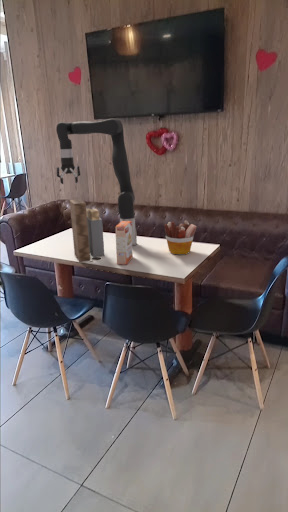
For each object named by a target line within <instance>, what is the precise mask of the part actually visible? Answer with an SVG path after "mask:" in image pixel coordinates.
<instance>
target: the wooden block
mask: <svg viewBox="0 0 288 512" xmlns="http://www.w3.org/2000/svg"><path fill="white" fill-rule="evenodd" d="M69 205H70V206H69V207H70V209H69V210H70V218H71V230H72V239H73V250H74V251H73V252H74V256H75V258H76V259H77V261H78V262H79V263H81V262H82V263H83V262H88V261H91V254H90V251H89V238H88V226H87V213H86V209H87V203H86V202H85V201H83V199H81V198H79V199H70V200H69Z"/></svg>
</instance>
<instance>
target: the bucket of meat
mask: <svg viewBox="0 0 288 512" xmlns="http://www.w3.org/2000/svg"><path fill="white" fill-rule="evenodd" d="M183 222H184V223H179V225H176V224H175V223H176V222H175V221H168V223H167V224H166V223H165V224H164V225H163V226H164V231H165V234H166V235H165V239H166V243H167V248H168V251H169V252H170V254H172V253H173V254H172V255H175V254H185V255H187V254H186V253H188V252H189V253H191V248H192V245H193V240H194V236H195V233H196V230H197V225H195V224H193V223H191V224H190V223H189V221H188V220H184V221H183ZM189 253H188V254H189Z"/></svg>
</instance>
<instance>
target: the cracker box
mask: <svg viewBox="0 0 288 512" xmlns="http://www.w3.org/2000/svg"><path fill="white" fill-rule="evenodd" d="M115 249H116V250H115V251H116V264H117V265H126V266H127V265H128V263H129V262H130V261H131V259H132V258H133V254H134V253H133V246H132V221H122V222H120V221H119V223H118V224H116V226H115Z"/></svg>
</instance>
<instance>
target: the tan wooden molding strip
mask: <svg viewBox="0 0 288 512" xmlns="http://www.w3.org/2000/svg"><path fill="white" fill-rule="evenodd" d="M86 213H87V217H88V218H90V219H91V220H92V221H94V220H99V217H100V211H99V210H98V209H97V208H86Z"/></svg>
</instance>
